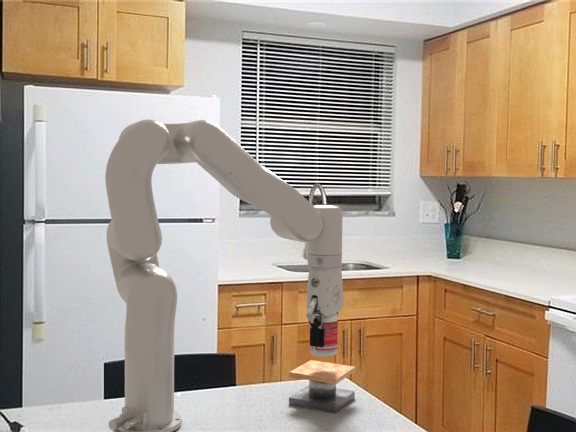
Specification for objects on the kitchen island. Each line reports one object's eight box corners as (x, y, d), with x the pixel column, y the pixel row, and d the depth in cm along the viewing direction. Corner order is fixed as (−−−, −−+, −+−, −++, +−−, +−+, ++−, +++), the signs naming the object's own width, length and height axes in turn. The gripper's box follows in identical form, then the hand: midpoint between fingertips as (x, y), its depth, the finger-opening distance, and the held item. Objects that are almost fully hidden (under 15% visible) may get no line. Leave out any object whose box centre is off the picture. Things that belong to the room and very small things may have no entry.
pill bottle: (343, 354, 146) (343, 304, 146) (324, 359, 142) (324, 308, 141) (322, 348, 151) (323, 300, 150) (303, 353, 147) (304, 303, 146)
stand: (335, 413, 140) (336, 379, 139) (288, 404, 145) (289, 372, 144) (354, 398, 149) (355, 366, 149) (310, 390, 154) (310, 360, 154)
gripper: (324, 267, 136) (323, 354, 137) (355, 258, 151) (353, 336, 152) (291, 265, 139) (290, 349, 140) (325, 256, 155) (324, 332, 156)
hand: (323, 342), depth 146 cm, fingers closed on pill bottle, 6 cm apart
